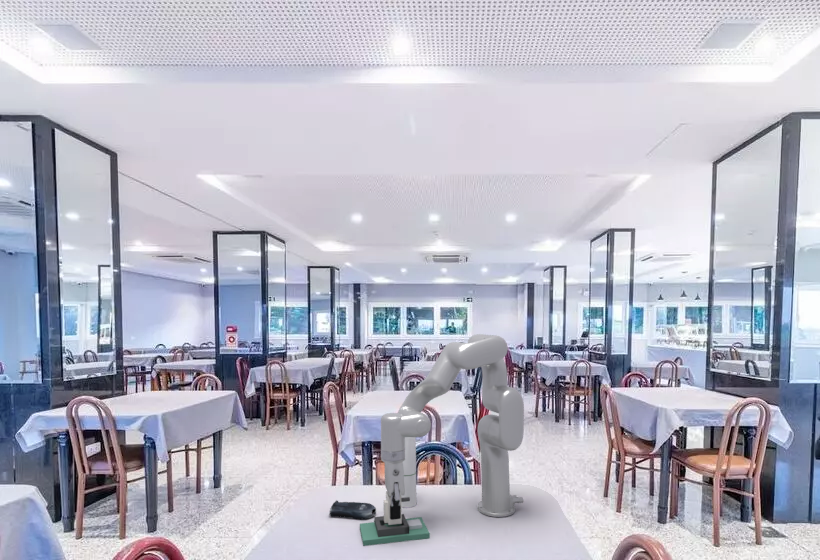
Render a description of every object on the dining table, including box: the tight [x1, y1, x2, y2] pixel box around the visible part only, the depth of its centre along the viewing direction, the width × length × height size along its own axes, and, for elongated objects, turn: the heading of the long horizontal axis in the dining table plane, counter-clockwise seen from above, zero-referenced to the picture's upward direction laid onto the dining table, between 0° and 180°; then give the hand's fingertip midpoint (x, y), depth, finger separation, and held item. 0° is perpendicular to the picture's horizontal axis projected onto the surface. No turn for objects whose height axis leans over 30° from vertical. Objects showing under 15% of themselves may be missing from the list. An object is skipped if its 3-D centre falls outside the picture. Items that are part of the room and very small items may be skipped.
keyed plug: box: [383, 490, 410, 525], centre depth 140 cm, size 8×5×8 cm, turn 102°
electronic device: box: [328, 499, 377, 521], centre depth 153 cm, size 9×6×15 cm
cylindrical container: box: [400, 437, 417, 509], centre depth 161 cm, size 7×7×25 cm
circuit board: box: [359, 513, 431, 547], centre depth 139 cm, size 20×11×4 cm, turn 102°
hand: (393, 514), depth 139 cm, fingers closed on keyed plug, 4 cm apart
